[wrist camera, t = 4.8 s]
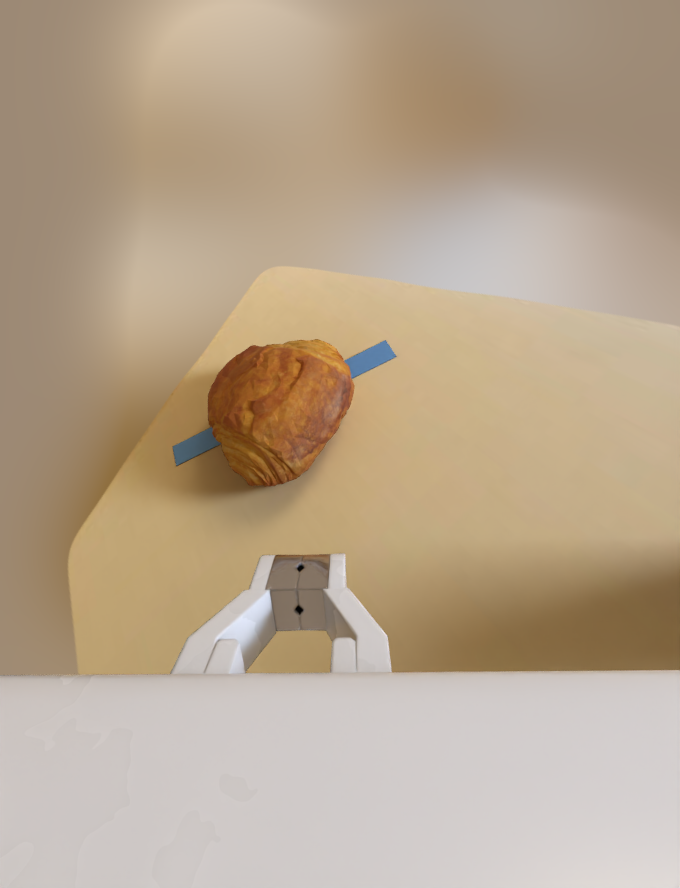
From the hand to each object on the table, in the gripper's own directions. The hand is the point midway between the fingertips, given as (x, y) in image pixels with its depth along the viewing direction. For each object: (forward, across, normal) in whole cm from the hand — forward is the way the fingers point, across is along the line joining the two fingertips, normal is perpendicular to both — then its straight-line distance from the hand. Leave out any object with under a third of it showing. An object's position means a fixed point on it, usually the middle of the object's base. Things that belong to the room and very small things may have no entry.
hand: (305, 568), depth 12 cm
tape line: (+26, +6, +1) cm, 26 cm away
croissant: (+25, +5, +2) cm, 25 cm away
